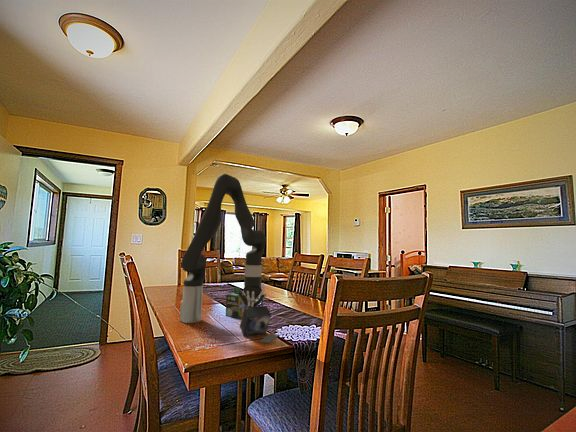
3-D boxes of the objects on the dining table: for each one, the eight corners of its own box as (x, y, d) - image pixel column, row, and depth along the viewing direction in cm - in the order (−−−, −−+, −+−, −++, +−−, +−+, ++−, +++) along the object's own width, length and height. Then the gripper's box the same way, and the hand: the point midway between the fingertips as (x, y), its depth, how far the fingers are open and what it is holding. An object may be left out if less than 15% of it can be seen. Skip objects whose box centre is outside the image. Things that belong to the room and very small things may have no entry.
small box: (243, 337, 129) (248, 317, 125) (239, 326, 134) (243, 306, 131) (266, 334, 134) (271, 315, 130) (261, 323, 139) (266, 305, 135)
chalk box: (249, 315, 165) (250, 287, 166) (238, 318, 158) (239, 289, 159) (236, 312, 170) (237, 285, 171) (224, 315, 163) (226, 287, 164)
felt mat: (259, 342, 123) (259, 340, 123) (270, 334, 133) (270, 333, 133) (269, 343, 122) (269, 342, 122) (279, 335, 132) (279, 334, 132)
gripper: (270, 275, 138) (268, 314, 137) (243, 273, 142) (242, 311, 141) (263, 277, 131) (261, 318, 130) (235, 275, 135) (234, 315, 134)
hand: (251, 314), depth 135 cm, fingers closed
